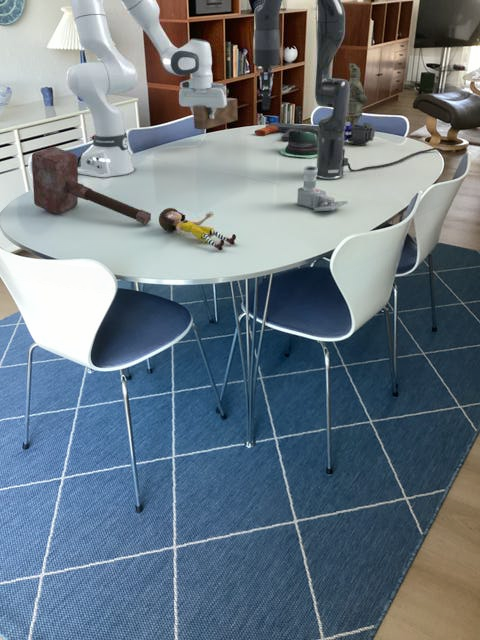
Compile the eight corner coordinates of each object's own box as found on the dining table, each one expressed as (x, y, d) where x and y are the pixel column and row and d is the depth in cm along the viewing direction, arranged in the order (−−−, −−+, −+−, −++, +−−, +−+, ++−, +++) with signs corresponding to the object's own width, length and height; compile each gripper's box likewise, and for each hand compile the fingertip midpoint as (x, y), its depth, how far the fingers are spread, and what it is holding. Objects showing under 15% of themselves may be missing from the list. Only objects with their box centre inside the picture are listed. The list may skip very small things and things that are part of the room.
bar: (203, 129, 232) (202, 107, 228) (194, 128, 235) (193, 106, 230) (237, 120, 249) (237, 98, 244) (228, 118, 251) (228, 97, 247)
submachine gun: (248, 131, 260) (271, 121, 279) (248, 137, 261) (271, 127, 280) (310, 137, 246) (331, 126, 265) (310, 144, 248) (330, 132, 266)
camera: (310, 163, 175) (350, 172, 167) (308, 199, 181) (347, 209, 173) (293, 169, 170) (334, 178, 161) (291, 206, 176) (331, 217, 167)
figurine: (212, 239, 141) (145, 208, 153) (211, 265, 145) (145, 233, 157) (245, 224, 150) (179, 196, 162) (243, 249, 154) (178, 220, 166)
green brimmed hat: (332, 145, 241) (326, 158, 224) (294, 164, 249) (286, 177, 233) (317, 113, 235) (310, 124, 219) (279, 133, 244) (269, 145, 228)
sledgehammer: (159, 186, 162) (53, 145, 173) (139, 196, 154) (29, 152, 166) (154, 239, 172) (54, 196, 183) (135, 250, 164) (32, 205, 176)
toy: (345, 120, 249) (377, 123, 242) (343, 139, 253) (375, 143, 246) (337, 123, 243) (369, 127, 236) (336, 143, 247) (367, 147, 240)
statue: (367, 132, 266) (374, 63, 251) (349, 133, 264) (355, 64, 249) (357, 127, 275) (362, 61, 260) (339, 129, 273) (344, 62, 258)
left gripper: (228, 82, 227) (229, 117, 234) (182, 81, 232) (184, 115, 239) (223, 84, 222) (224, 120, 229) (176, 83, 227) (178, 118, 234)
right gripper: (279, 49, 152) (278, 111, 161) (279, 45, 165) (279, 102, 173) (252, 49, 153) (252, 111, 161) (254, 45, 165) (254, 103, 173)
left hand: (203, 118), depth 234 cm, fingers closed on bar, 6 cm apart
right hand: (266, 107), depth 167 cm, fingers open, 8 cm apart
